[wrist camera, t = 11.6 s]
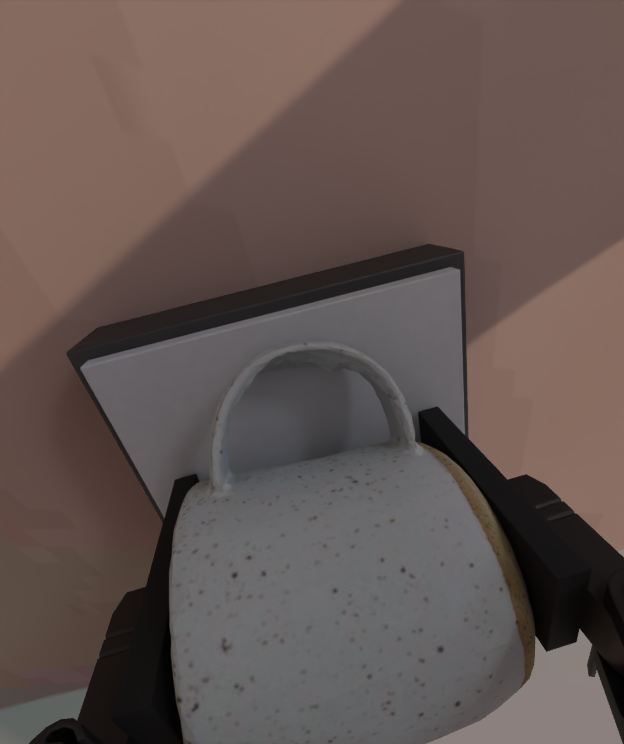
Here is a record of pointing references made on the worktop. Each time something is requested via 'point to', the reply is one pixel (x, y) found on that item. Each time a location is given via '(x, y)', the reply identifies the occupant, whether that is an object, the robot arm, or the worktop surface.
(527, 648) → the ceramic mug
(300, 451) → the kitchen scale
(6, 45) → the worktop surface
